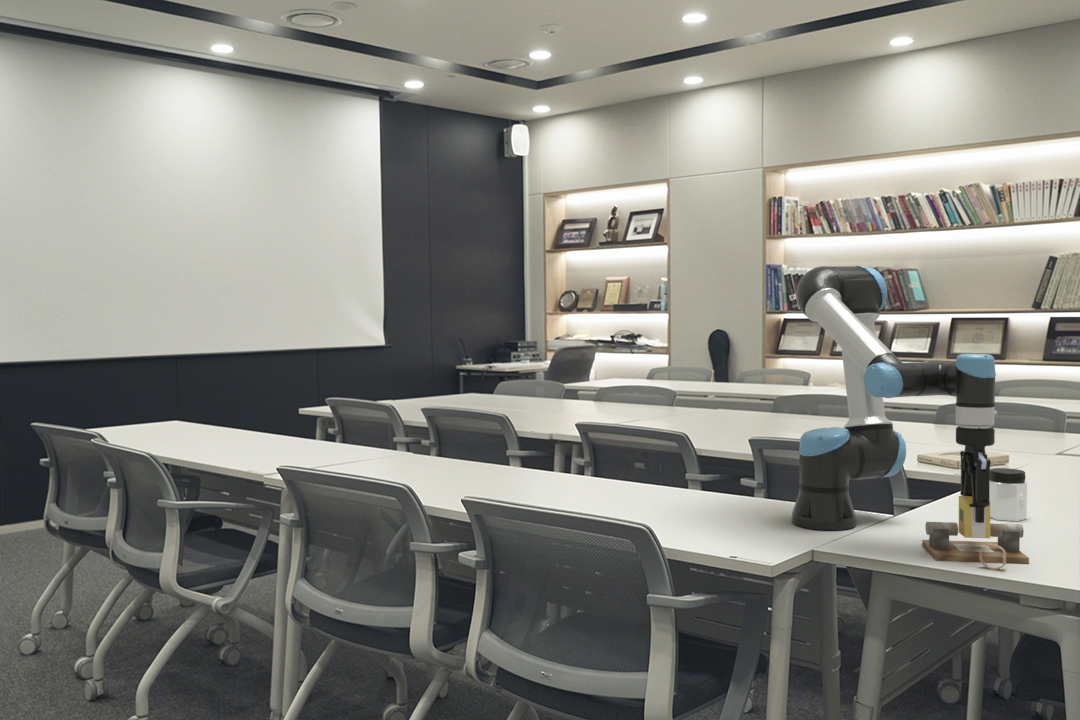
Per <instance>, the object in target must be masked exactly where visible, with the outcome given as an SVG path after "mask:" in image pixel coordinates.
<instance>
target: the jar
mask: <svg viewBox="0 0 1080 720" xmlns="http://www.w3.org/2000/svg"><path fill="white" fill-rule="evenodd" d="M1026 476H1027V475H1026V472H1025V470H1021V469H1017V468H1007V467H1006V468H1005V467H997V468H990V481H989V500H990V519H993V520H995V521H1004V522H1015V523H1017V522H1020V521H1024V520H1027V515H1028V514H1027V510H1028V509H1027V508H1028V507H1027V503H1028V499H1027V498H1028V482H1026Z"/></svg>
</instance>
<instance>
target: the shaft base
mask: <svg viewBox="0 0 1080 720" xmlns="http://www.w3.org/2000/svg"><path fill="white" fill-rule="evenodd" d="M925 534H926V535H927V536H929V537H928V538H929V539H922V540H921V542H922V544H921V545H922V547H923V548H924V549H925V550H926V551H927V552H928V554H930V556H932V557H933V558H934V559H935V560H936V561H943V562H945V561H946V562H968V563H969V562H975V563H981V561H980V558H979V554H980V551H981V549H982V548H983V547H984V546H986V545H988V544H996V545H998V546H1001V547H1002V548H1003V549H1004V550H1005V552H1006V564H1030V558H1029V557H1028V556H1027V554H1024V553H1023V552H1022V551H1021V550H1020V547H1021V546H1020V543H1021V542H1020V541H1021V539H1022V538H1023V537H1024V527H1023V525H1022V524H1018V523H1017V524H1016V523H1012V524H1011V523H990V538H997V541H978V540H977V541H973V540H972V541H971V540H969V541H968V540H950V536H951V537H952V536H954V537H957V536H958V535H959V524H958V523H957V522H951V521H950V522H946V521H945V522H944V521H926V522H925ZM1020 538H1021V539H1020ZM982 559H983V561H984V563H997V564H998V563H1003V551H1002V550H1001V549H1000V548H998V547H996V546H987V547H985V548H984V549H983V550H982Z"/></svg>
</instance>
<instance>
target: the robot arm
mask: <svg viewBox="0 0 1080 720" xmlns="http://www.w3.org/2000/svg"><path fill="white" fill-rule="evenodd" d="M795 293H796V302H797V305H798V306H799V309H800V311H801V312H802V313H803V314H804V316H806V318H807V319H808V320H809V321H812V322H814V323H818V324H819V325H820V326H821V328H822V329H823V330H824V331H825V332H826V333H827V334H828V335H829V336H830V338H832V340H833V341H835V343H836V344H837V346H839V347H840V348H841V355H842V365H843V373H844V383H845V391H846V401H847V410H848V421H847V422H846V423H845V424H844V426H843V427H838V426H837V427H836V426H835V427H820V428H815V429H810V430H807V431H805V432H804V433H803V434H802V435H801V436H800V439H799V449H798V453H799V490H798V491H799V492H798V495H797V497H796V498H797V499H796V501H795V504H794V506H793V510H792V514H791V522H792V524H794V525H795V526H798V527H801V528H805V529H810V530H811V529H812V530H819V531H821V530H822V531H843V530H850V529H853V528H856V526H857V517H856V516H857V515H856V511H855V510H854V506H853V503H852V501H851V497H850V494H849V490H850V489H849V484H850V483H849V481H854V480H855V481H857V480H868V479H869V480H870V479H883V478H887V477H893V476H894V475H897V474H898V473H899V472H900V471H901V469H902V467H903V466H904V464H905V461H906V457H907V445H906V442H905V441H906V440H905V439H904V438H903V436H902V434H901V433H899V432H898V431H896V430H894V424H893V422H892V421H891V420H890V419H888V418H887V416H886V412H885V405H884V404H885V403H884V399H893V398H907V397H908V398H909V397H927V396H928V397H932V396H947V397H949V396H950V397H955V399H956V400H955V424H956V425H958V426H956V427H955V443H956V444H958V445H961V446H964V450H961V451H959V455H960V492H959V493H960V496H972V498H973V504H969V506H970V507H971V537H979V538H978V539H987V538H986V507H987V506H989V504H990V502H989V481H990V469H991V464H992V461H991V459H990V458H989V459H988V454H987V453H986V449H985V448H986V447H991V446H993V445H994V444H995V434H996V433H995V431H996V429H995V428H994V427H993V426H994V425H995V416H997V415H998V411H997V410H995V409H996V405H995V403H996V402H995V401H996V399H995V398H996V376H997V373H996V363H995V362H996V361H995V357H994V356H993V355H991V354H987V353H962V354H958V355H957V357H956V360H955V362H952V361H941V360H927V361H922V362H915V361H914V362H903V361H901V359H899V358H898V357H897V356H896V354H894V353H893V352H892V351H891V350H890V349H889V348H888V346H887V345H885V344H884V343H883V342H882V341H881V340H880V339H879V338H878V336H877V335H876V328H875V324H876V323H875V322H876V321H877V320H878V319H879V318H880V316H881V315H880V310H882V309H883V308H884V307H885V305H886V303H887V302H886V300H887V299H888V288H887V283H886V281H885V279H884V277H883V275H882V274H881V273H880V272H879V271H877V269H874V268H873V267H869V266H868V267H867V266H862V265H854V266H850V265H849V266H847V265H846V266H828V265H826V266H825V265H822V266H817V267H813V268H812V269H810V270H809V271H807V272H806V273H804V275H803V276H802V277H801V278H800V279H799V281H798V283H797V286H796V292H795Z"/></svg>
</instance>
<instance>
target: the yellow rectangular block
mask: <svg viewBox="0 0 1080 720" xmlns="http://www.w3.org/2000/svg"><path fill="white" fill-rule="evenodd" d="M989 502H990V500H989ZM969 504H973V498H972V496H961V495H958V534H959V535H961V536H962V537H964V538H965V539H980V538H979V537H971V507H970V506H969ZM990 524H991V517H990V504H989V506H987V507H986V538H985V539H991V536H990Z"/></svg>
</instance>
